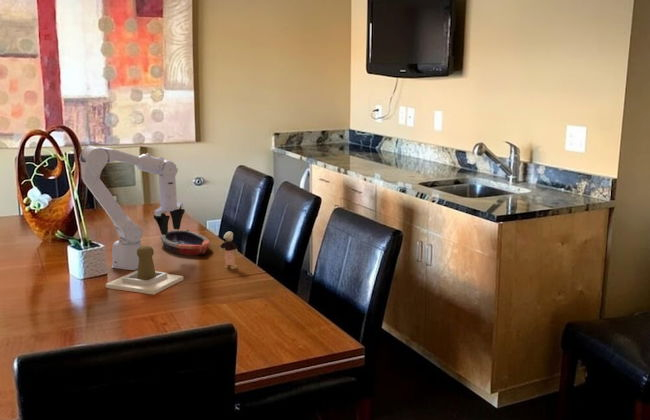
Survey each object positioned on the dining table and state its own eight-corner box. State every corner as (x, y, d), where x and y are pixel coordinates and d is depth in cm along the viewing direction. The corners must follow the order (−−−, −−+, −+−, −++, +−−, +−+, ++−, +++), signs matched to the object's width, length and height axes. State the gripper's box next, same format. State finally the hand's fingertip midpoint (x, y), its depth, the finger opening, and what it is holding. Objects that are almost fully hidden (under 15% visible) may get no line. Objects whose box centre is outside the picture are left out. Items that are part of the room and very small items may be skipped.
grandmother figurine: (242, 266, 235) (241, 231, 232) (237, 269, 232) (236, 233, 229) (222, 264, 238) (221, 229, 235) (217, 267, 234) (215, 231, 231)
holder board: (105, 287, 213) (105, 279, 212) (137, 273, 227) (137, 265, 227) (154, 294, 206) (153, 286, 206) (183, 279, 221) (183, 271, 220)
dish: (190, 238, 276) (189, 226, 275) (220, 255, 250) (220, 242, 249) (152, 243, 268) (152, 230, 267) (180, 261, 242) (179, 248, 241)
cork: (151, 283, 213) (149, 249, 210) (133, 282, 214) (131, 248, 212) (159, 277, 218) (158, 244, 216) (142, 276, 220) (140, 243, 217)
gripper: (165, 198, 230) (168, 237, 233) (189, 191, 243) (191, 227, 246) (148, 197, 233) (151, 235, 236) (172, 190, 246) (174, 226, 249)
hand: (170, 231), depth 241 cm, fingers open, 7 cm apart
